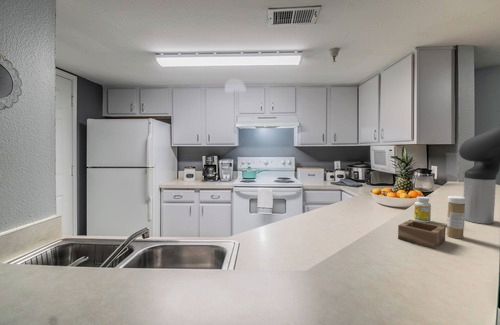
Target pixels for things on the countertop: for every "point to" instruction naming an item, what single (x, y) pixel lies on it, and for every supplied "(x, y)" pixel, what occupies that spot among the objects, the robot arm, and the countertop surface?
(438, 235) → the box
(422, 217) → the supplement bottle
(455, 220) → the sprinkles bottle
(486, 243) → the countertop surface
